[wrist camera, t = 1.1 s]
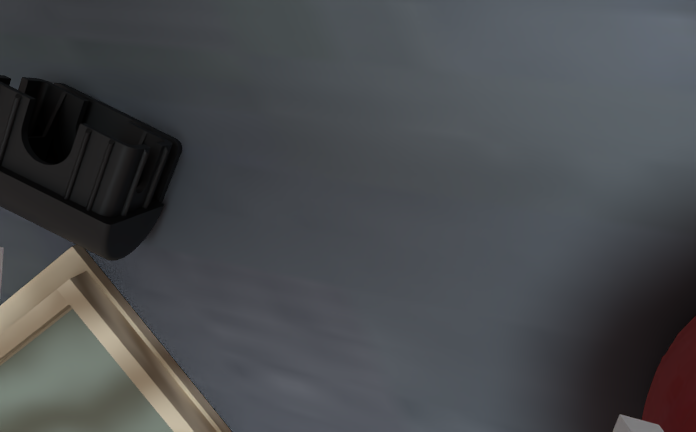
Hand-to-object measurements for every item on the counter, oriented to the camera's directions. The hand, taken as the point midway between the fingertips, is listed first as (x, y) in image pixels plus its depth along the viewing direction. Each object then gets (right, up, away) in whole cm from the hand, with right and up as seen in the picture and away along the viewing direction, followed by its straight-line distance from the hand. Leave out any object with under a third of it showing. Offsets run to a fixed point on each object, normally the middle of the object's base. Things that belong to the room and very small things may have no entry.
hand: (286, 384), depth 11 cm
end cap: (-14, +7, +23) cm, 28 cm away
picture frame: (-18, -10, +26) cm, 33 cm away
